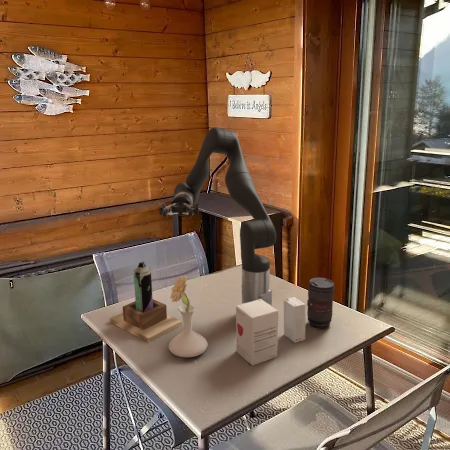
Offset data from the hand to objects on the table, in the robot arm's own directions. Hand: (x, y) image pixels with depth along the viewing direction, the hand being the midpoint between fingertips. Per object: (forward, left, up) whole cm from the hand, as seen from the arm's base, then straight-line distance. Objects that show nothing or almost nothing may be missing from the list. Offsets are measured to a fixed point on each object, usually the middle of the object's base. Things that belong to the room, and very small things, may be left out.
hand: (177, 214), depth 163 cm
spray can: (-5, +20, -31) cm, 37 cm away
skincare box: (-47, -3, -32) cm, 57 cm away
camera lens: (-49, -15, -32) cm, 60 cm away
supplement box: (-44, +12, -32) cm, 56 cm away
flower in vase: (-28, +24, -32) cm, 49 cm away
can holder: (-5, +21, -32) cm, 38 cm away
